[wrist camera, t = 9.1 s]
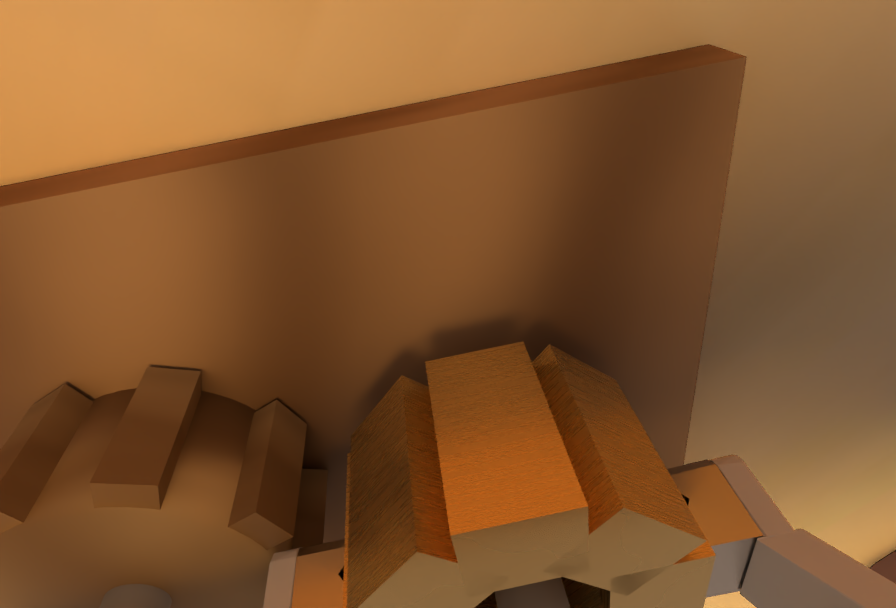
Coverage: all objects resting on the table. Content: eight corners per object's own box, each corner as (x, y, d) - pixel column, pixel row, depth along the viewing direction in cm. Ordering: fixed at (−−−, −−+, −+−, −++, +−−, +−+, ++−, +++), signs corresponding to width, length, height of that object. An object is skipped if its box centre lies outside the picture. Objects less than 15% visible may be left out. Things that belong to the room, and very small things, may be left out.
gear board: (708, 44, 10) (1067, 162, 5) (657, 494, 18) (771, 714, 13) (-262, 239, 10) (-947, 575, 5) (127, 606, 18) (33, 873, 13)
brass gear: (628, 319, 10) (735, 474, 7) (619, 504, 14) (689, 660, 11) (318, 383, 10) (299, 568, 7) (388, 553, 14) (395, 724, 11)
